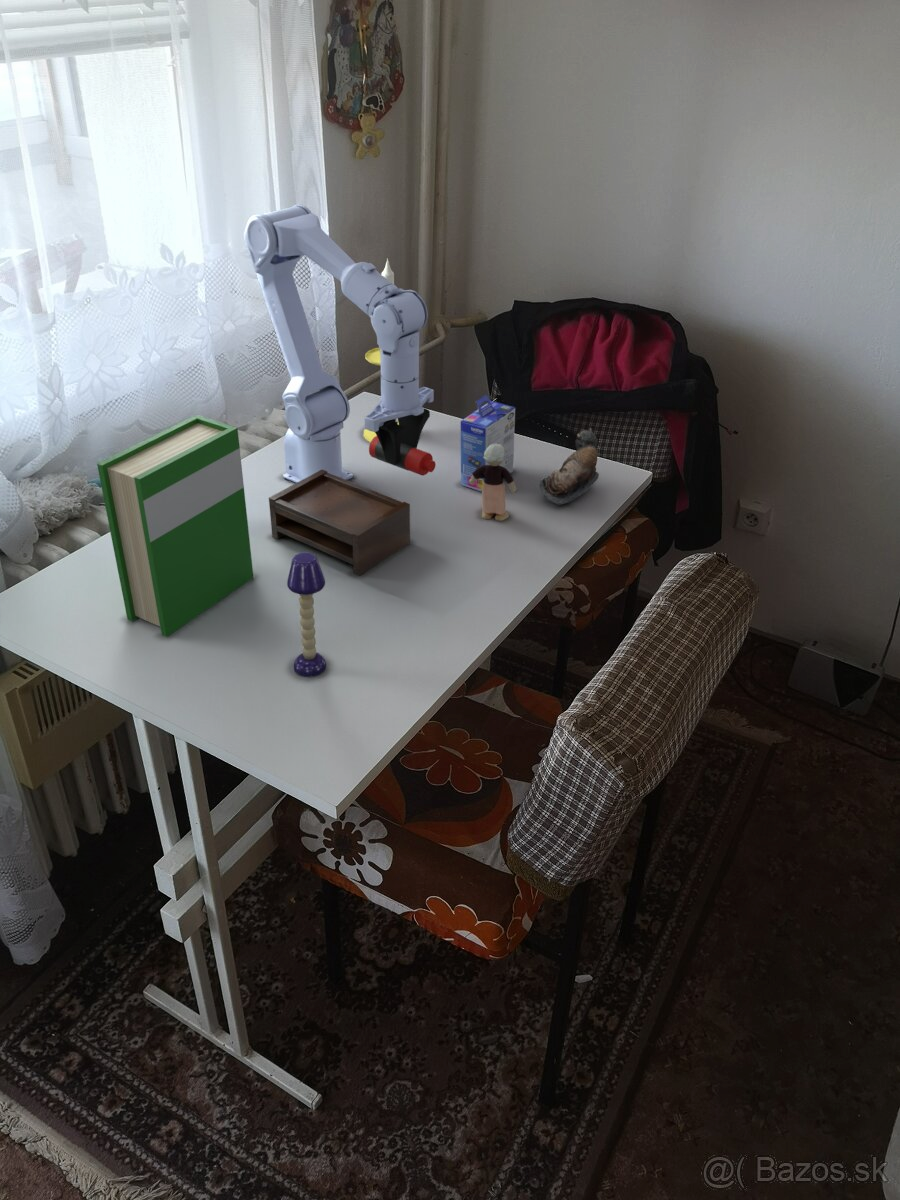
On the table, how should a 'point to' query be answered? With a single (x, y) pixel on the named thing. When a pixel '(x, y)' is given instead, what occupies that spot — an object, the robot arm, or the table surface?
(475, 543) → the table surface
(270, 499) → the shelf
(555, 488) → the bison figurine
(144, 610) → the hardback book
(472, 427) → the ink cartridge box
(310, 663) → the toy lamp
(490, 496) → the grandmother figurine
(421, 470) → the thermos
